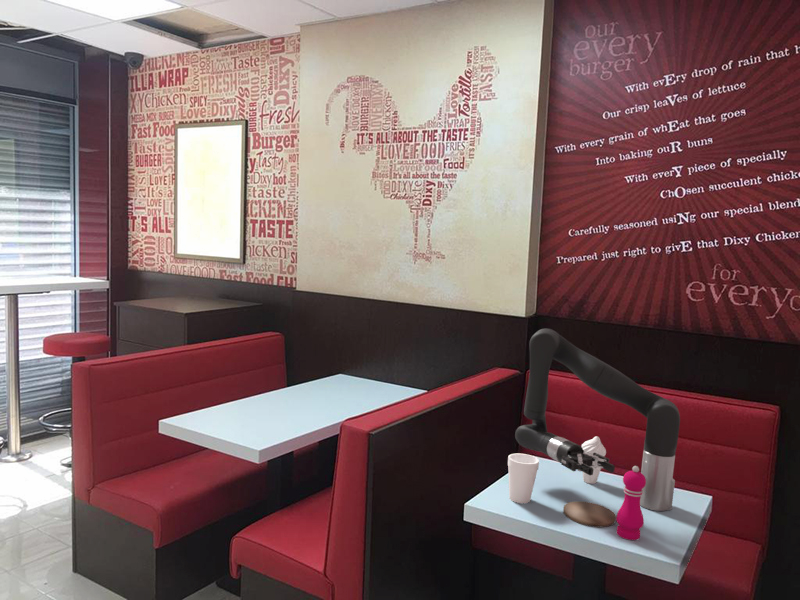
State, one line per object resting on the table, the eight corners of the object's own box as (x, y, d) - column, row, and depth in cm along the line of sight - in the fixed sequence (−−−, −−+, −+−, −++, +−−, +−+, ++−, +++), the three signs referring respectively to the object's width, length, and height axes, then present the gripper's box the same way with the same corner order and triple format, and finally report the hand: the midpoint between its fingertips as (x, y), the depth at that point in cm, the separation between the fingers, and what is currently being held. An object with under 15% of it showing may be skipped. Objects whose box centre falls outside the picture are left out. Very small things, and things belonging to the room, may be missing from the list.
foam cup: (526, 508, 202) (530, 466, 200) (498, 499, 207) (502, 458, 206) (540, 499, 209) (544, 459, 208) (513, 490, 215) (517, 451, 213)
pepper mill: (647, 540, 186) (655, 470, 184) (624, 542, 184) (632, 471, 182) (631, 528, 193) (639, 461, 191) (609, 530, 191) (617, 461, 188)
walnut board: (604, 506, 208) (605, 502, 207) (623, 528, 193) (624, 524, 193) (556, 504, 207) (557, 500, 206) (572, 525, 192) (572, 521, 192)
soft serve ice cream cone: (572, 480, 228) (577, 434, 227) (585, 475, 234) (590, 430, 232) (594, 488, 222) (599, 441, 221) (607, 483, 228) (612, 437, 226)
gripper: (548, 441, 207) (586, 460, 193) (583, 438, 214) (622, 456, 199) (545, 465, 207) (583, 485, 193) (580, 461, 214) (619, 480, 200)
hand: (603, 470), depth 196 cm, fingers open, 8 cm apart
